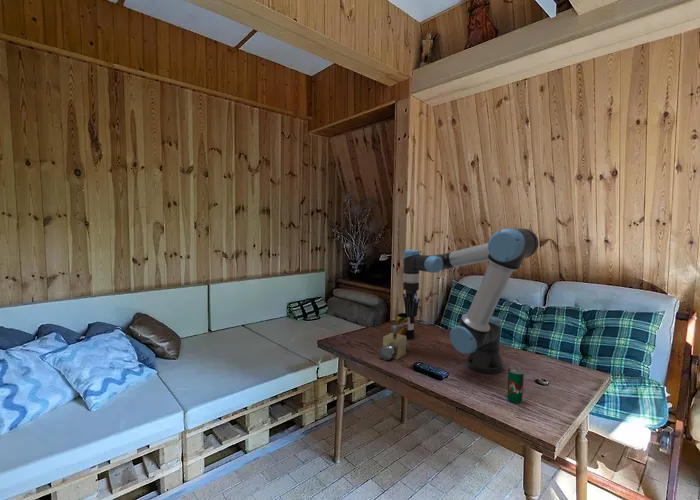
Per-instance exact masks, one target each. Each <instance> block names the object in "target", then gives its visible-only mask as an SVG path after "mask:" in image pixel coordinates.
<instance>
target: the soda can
mask: <svg viewBox="0 0 700 500" xmlns="http://www.w3.org/2000/svg"><path fill="white" fill-rule="evenodd" d="M524 376H525V372H524V369H523V368H522V367H519V366H516V365H511V366H509V368H508V370H507V387H506V388H507V389H506V391H507V392H506V399H507V400H508V401H509V402H510V403H514V404H520V403H522V402H523V393H524V381H525V380H524V379H525V377H524Z"/></svg>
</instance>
